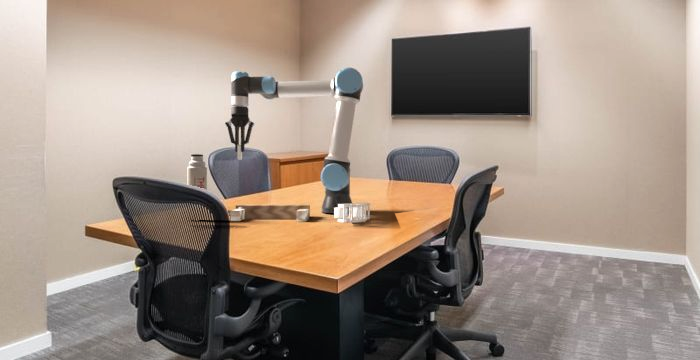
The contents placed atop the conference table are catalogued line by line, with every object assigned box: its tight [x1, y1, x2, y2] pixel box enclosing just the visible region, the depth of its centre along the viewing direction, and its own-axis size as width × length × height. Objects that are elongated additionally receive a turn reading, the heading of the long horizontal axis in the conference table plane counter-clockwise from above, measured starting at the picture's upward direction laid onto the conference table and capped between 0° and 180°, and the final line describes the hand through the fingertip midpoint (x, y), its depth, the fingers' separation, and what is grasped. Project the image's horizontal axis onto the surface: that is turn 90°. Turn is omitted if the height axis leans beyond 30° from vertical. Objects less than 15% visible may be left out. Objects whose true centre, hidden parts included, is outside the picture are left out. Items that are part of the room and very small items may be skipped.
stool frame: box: [227, 204, 311, 223], centre depth 220 cm, size 35×20×6 cm, turn 89°
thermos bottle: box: [186, 153, 208, 191], centre depth 216 cm, size 8×8×28 cm
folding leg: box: [230, 207, 246, 222], centre depth 216 cm, size 15×4×5 cm, turn 1°
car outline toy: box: [333, 202, 371, 224], centre depth 218 cm, size 20×11×7 cm, turn 137°
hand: (239, 159), depth 230 cm, fingers closed
